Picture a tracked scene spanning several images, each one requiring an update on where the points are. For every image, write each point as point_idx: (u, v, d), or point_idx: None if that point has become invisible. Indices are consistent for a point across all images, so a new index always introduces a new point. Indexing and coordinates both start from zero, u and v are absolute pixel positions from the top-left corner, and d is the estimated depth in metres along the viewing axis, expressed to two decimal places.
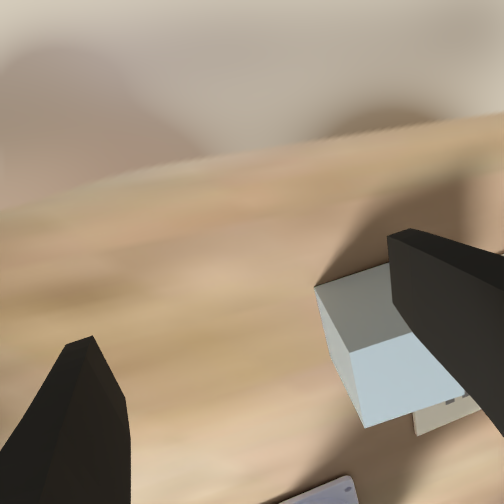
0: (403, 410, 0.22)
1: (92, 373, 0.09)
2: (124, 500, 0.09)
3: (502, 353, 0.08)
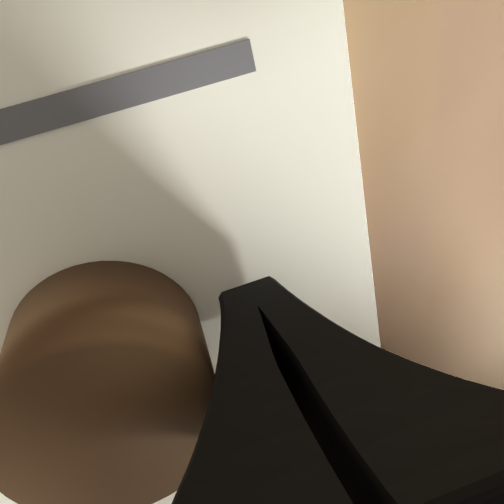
0: None
1: None
2: None
3: (316, 423, 0.08)
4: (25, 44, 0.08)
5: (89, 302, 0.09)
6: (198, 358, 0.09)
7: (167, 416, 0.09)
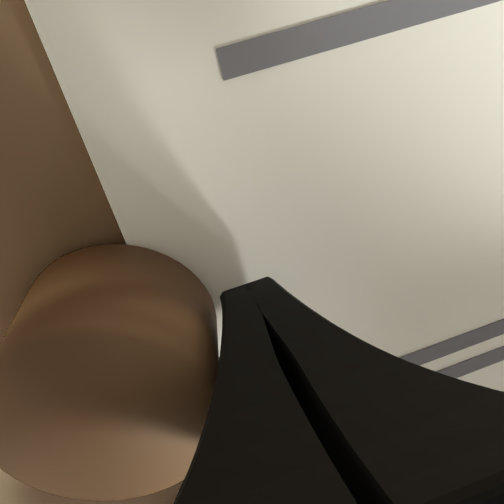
0: None
1: None
2: None
3: (314, 424, 0.08)
4: None
5: (109, 286, 0.09)
6: (206, 365, 0.09)
7: (164, 416, 0.09)
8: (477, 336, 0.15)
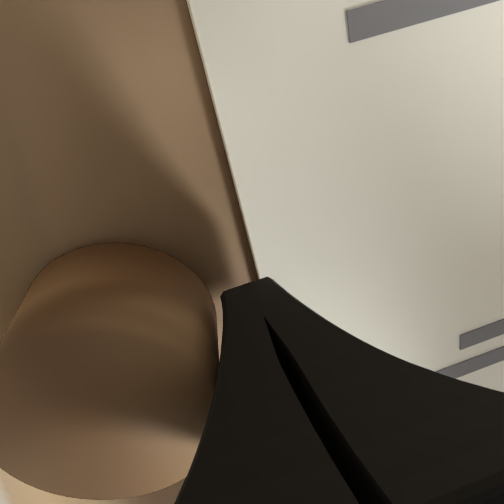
0: None
1: None
2: None
3: (314, 424, 0.08)
4: None
5: (110, 285, 0.09)
6: (206, 365, 0.09)
7: (163, 416, 0.09)
8: None
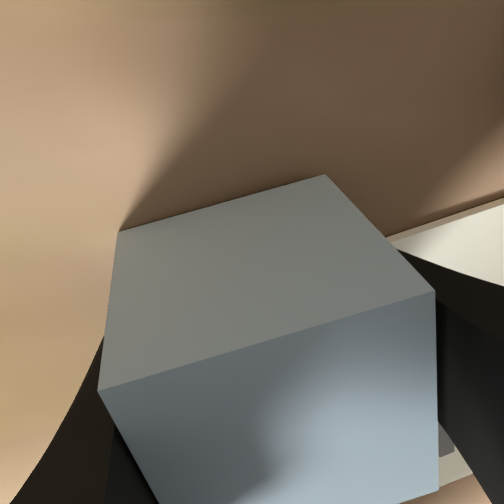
0: None
1: None
2: None
3: (455, 371, 0.08)
4: None
5: None
6: None
7: None
8: (444, 435, 0.17)
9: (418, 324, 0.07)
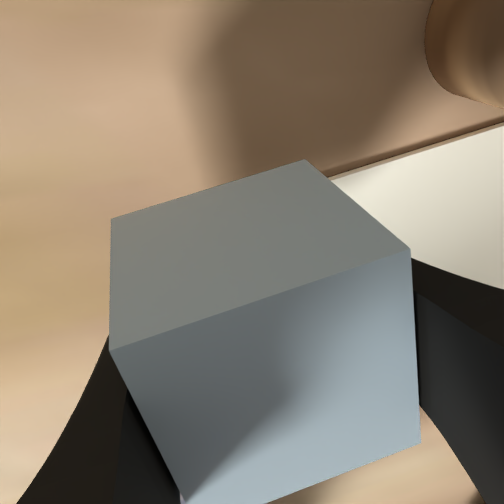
0: (286, 484, 0.10)
1: None
2: (174, 481, 0.09)
3: (450, 373, 0.08)
4: None
5: None
6: None
7: None
8: None
9: (397, 281, 0.08)
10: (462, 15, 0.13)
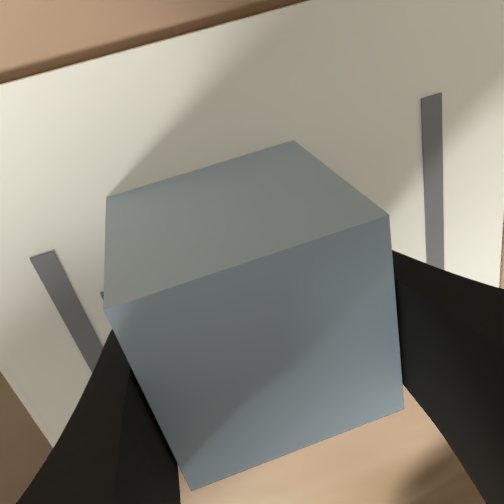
0: (274, 448, 0.10)
1: None
2: (174, 481, 0.09)
3: (450, 373, 0.08)
4: (468, 184, 0.15)
5: None
6: None
7: None
8: None
9: (377, 246, 0.08)
10: None
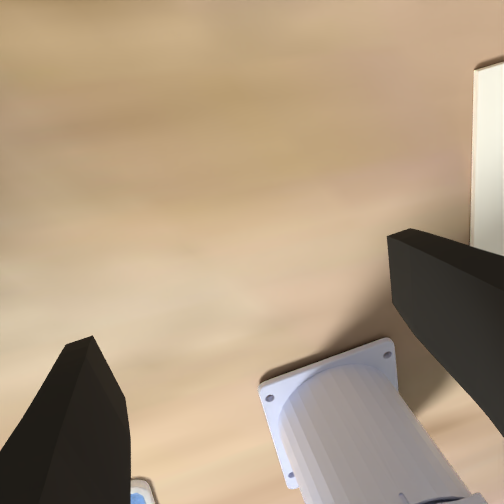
0: None
1: (92, 373, 0.09)
2: (124, 500, 0.09)
3: (502, 353, 0.08)
4: None
5: None
6: None
7: None
8: None
9: None
10: None
